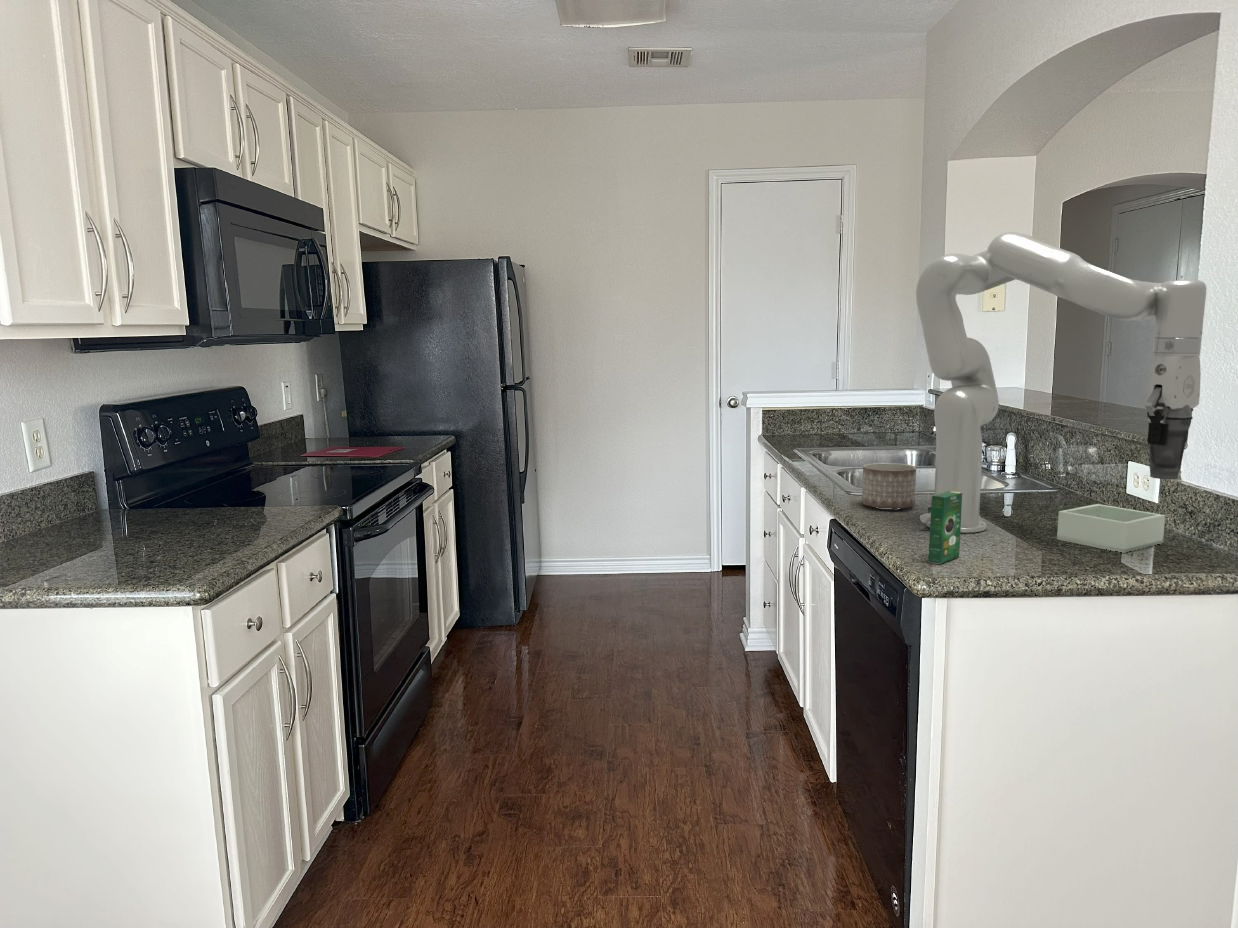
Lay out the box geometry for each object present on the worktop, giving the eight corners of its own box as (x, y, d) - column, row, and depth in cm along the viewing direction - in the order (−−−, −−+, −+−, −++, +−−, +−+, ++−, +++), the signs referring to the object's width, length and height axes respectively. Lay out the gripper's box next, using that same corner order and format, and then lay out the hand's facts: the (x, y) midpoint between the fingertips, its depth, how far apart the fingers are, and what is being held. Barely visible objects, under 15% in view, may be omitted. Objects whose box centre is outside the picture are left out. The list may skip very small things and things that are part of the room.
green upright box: (946, 554, 169) (949, 489, 167) (960, 557, 167) (963, 491, 165) (926, 562, 164) (929, 494, 162) (941, 565, 162) (944, 496, 160)
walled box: (1124, 553, 168) (1126, 523, 167) (1056, 539, 180) (1058, 511, 179) (1162, 543, 175) (1165, 515, 174) (1095, 530, 187) (1097, 503, 186)
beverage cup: (1169, 482, 159) (1180, 373, 155) (1132, 475, 165) (1142, 371, 162) (1195, 478, 162) (1206, 372, 158) (1158, 472, 168) (1167, 370, 165)
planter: (922, 506, 216) (923, 465, 215) (902, 514, 207) (904, 472, 205) (874, 500, 224) (875, 461, 223) (853, 508, 215) (854, 467, 213)
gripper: (1172, 349, 152) (1163, 449, 155) (1222, 347, 161) (1212, 442, 164) (1129, 348, 158) (1121, 444, 161) (1179, 347, 167) (1170, 438, 170)
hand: (1167, 442), depth 162 cm, fingers closed on beverage cup, 6 cm apart
